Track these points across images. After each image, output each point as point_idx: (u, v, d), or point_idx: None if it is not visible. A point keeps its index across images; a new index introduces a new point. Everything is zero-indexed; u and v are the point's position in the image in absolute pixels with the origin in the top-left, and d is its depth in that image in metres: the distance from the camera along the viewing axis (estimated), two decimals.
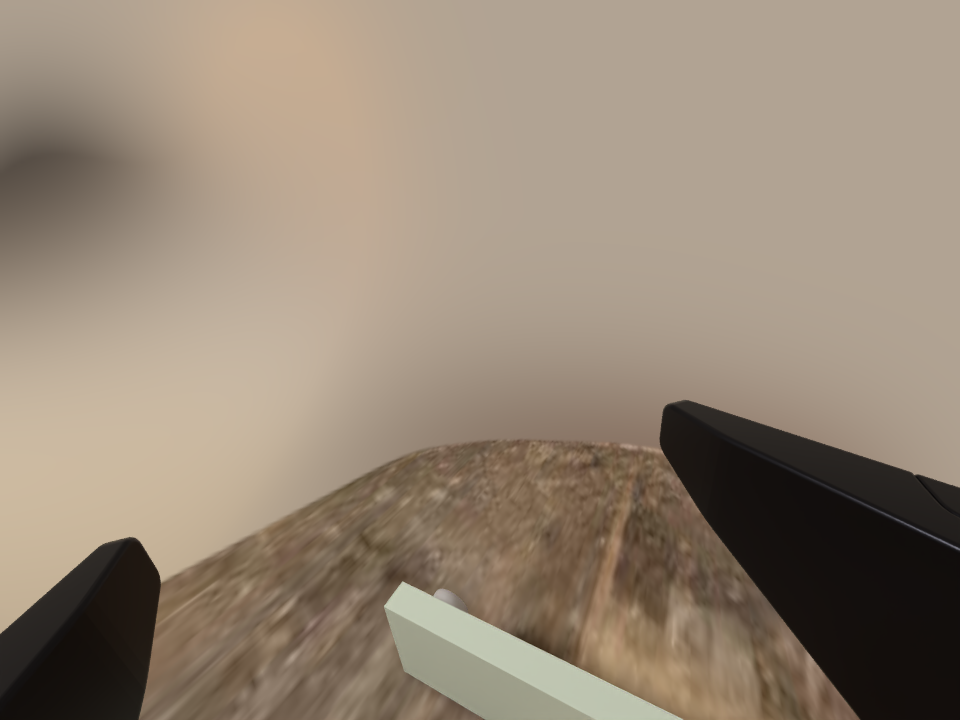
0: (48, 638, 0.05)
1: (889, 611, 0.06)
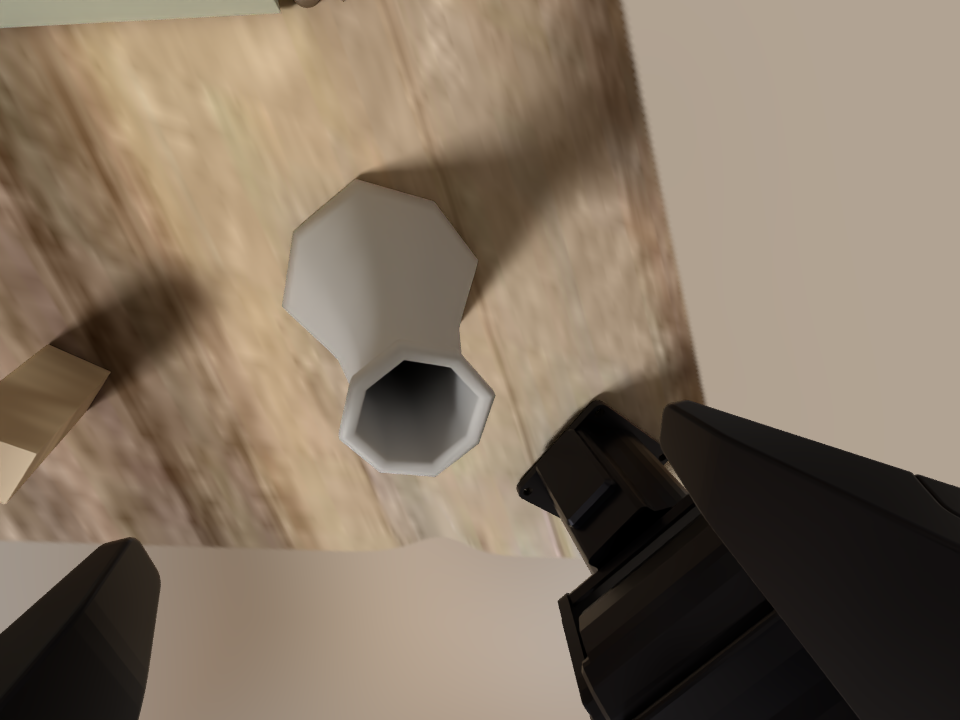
0: (48, 638, 0.05)
1: (889, 611, 0.06)
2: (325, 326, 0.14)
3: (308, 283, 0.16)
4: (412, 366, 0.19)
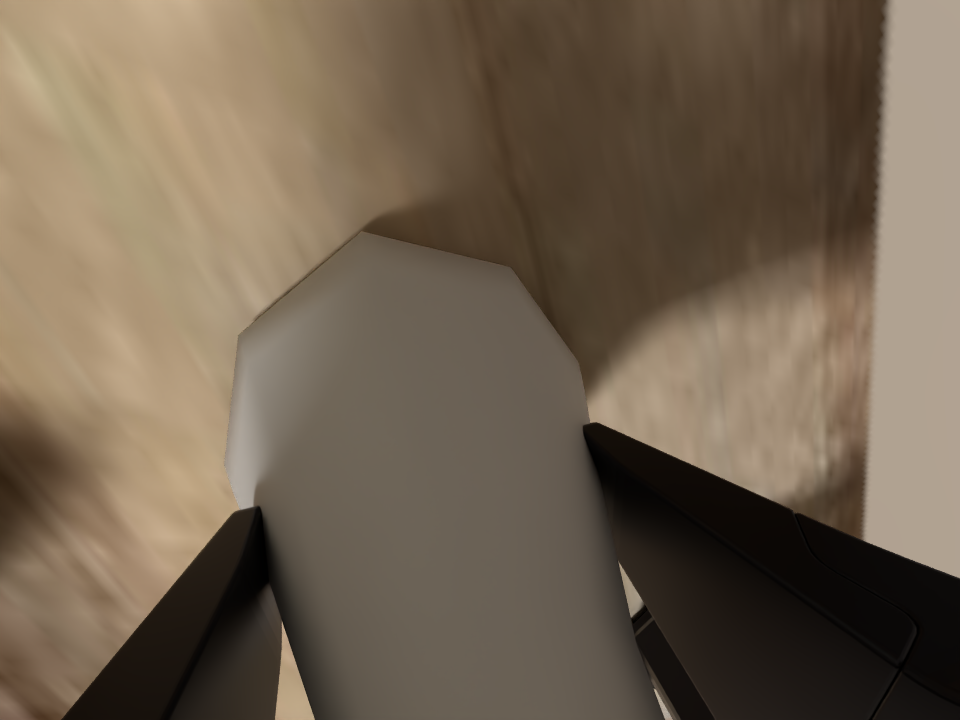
0: (221, 590, 0.06)
1: (759, 659, 0.05)
2: (299, 621, 0.06)
3: (264, 471, 0.07)
4: None
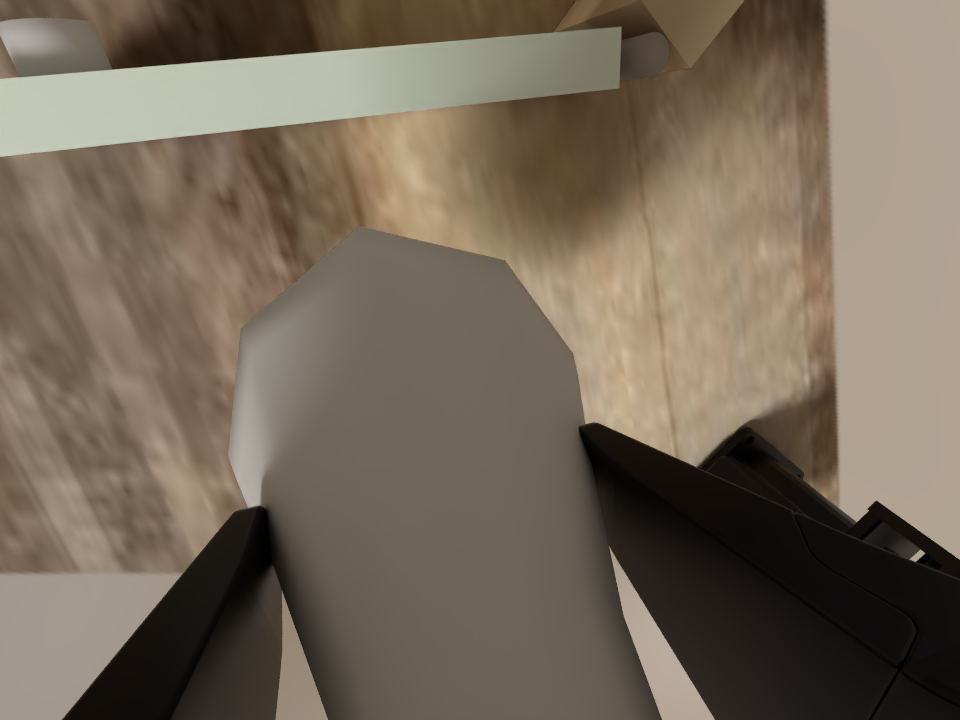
0: (222, 590, 0.06)
1: (759, 660, 0.05)
2: (301, 598, 0.06)
3: (267, 458, 0.07)
4: None
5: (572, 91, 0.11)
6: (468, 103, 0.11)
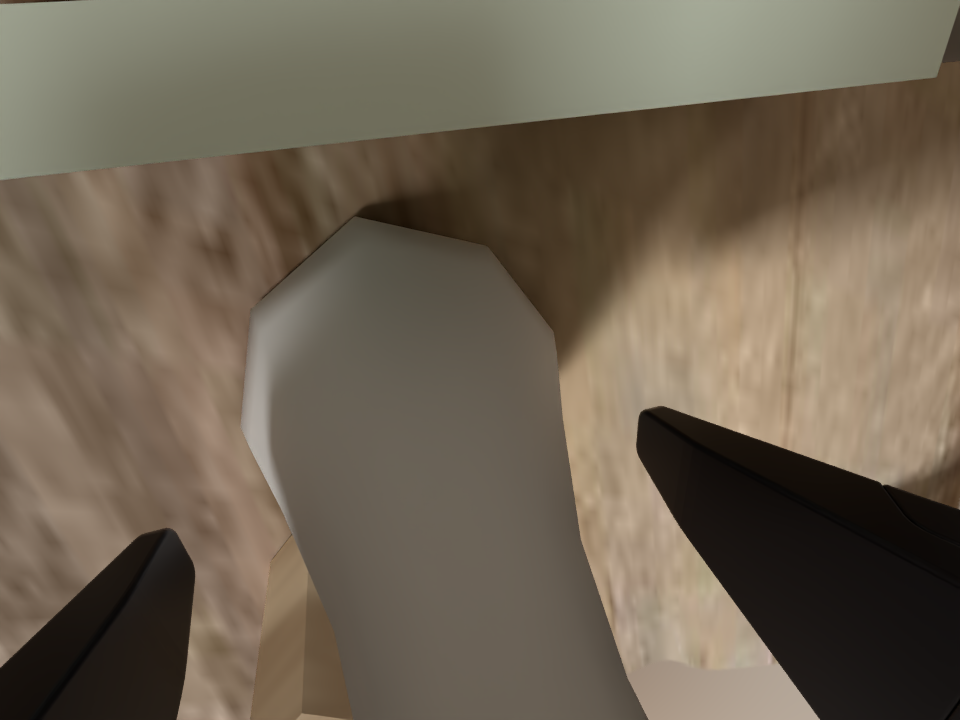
0: (99, 624, 0.05)
1: (855, 625, 0.06)
2: (307, 531, 0.07)
3: (276, 419, 0.08)
4: None
5: (864, 81, 0.06)
6: (687, 101, 0.05)
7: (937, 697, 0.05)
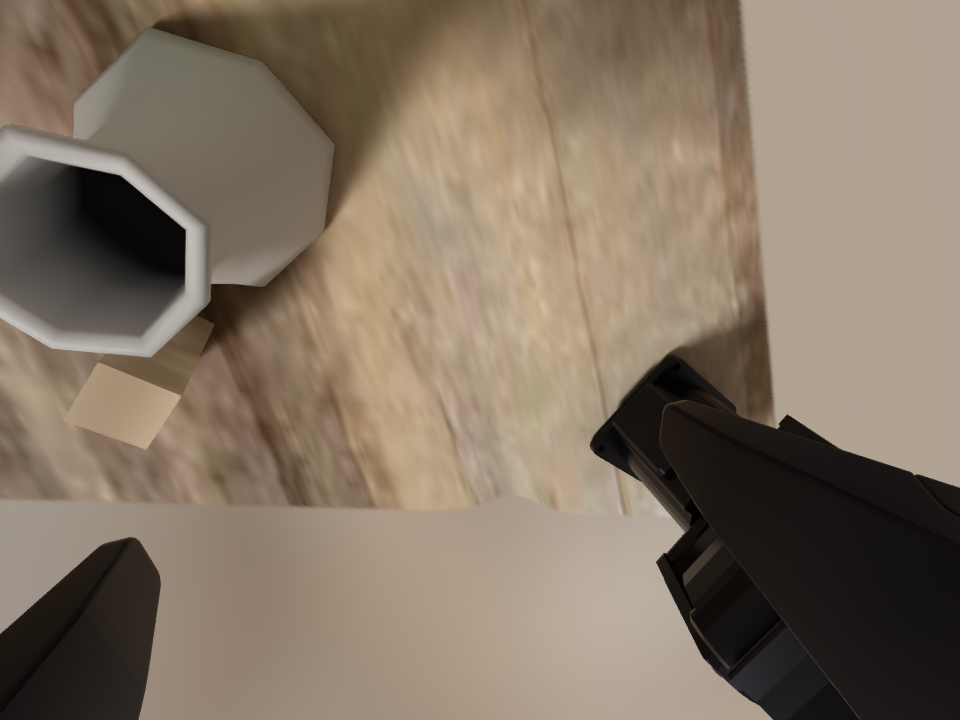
0: (48, 638, 0.05)
1: (889, 611, 0.06)
2: None
3: None
4: (260, 278, 0.16)
5: None
6: None
7: None
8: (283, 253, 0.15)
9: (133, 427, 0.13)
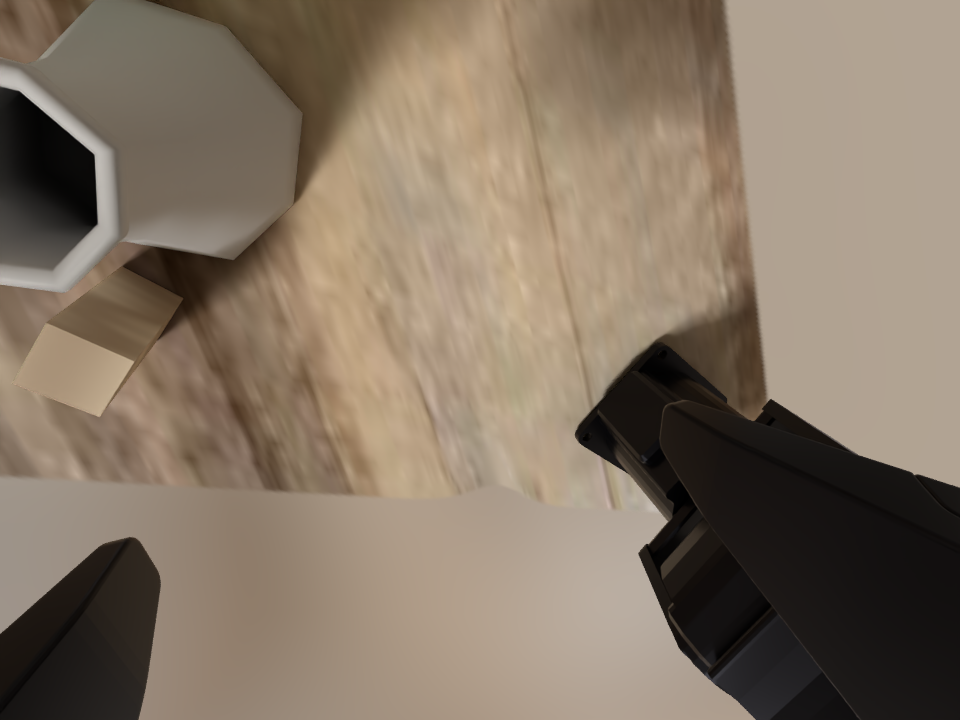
0: (48, 638, 0.05)
1: (889, 610, 0.06)
2: None
3: None
4: None
5: None
6: None
7: None
8: (247, 221, 0.15)
9: (84, 393, 0.13)
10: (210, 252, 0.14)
